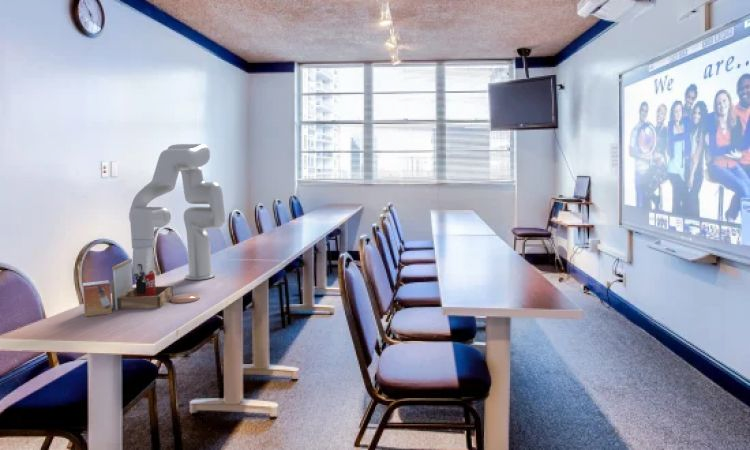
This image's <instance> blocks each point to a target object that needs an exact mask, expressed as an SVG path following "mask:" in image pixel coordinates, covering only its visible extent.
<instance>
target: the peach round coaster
mask: <svg viewBox="0 0 750 450" xmlns="http://www.w3.org/2000/svg"><path fill="white" fill-rule="evenodd" d="M200 297H201V296H200V294H198V293H181V294H177V295H173V297H171V299H170V302H171V303H173V304H188V303H189V304H190V303H194V302H196V301H199V300H200Z"/></svg>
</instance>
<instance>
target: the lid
mask: <svg viewBox="0 0 750 450" xmlns="http://www.w3.org/2000/svg"><path fill="white" fill-rule="evenodd" d="M132 263H133V258H128V259H126V260H124V261H122V262H120V263H118V264H116V265H114V266H112V267H111V271H112V275H113V278H112V280H111V281H110V291H111V307H112V310H119V309H118V297H120V296H121V295H123V294H124V293H126V292H127V291H129V290H131V289H132V288H134V287H133V286H134V285H133V266H132Z"/></svg>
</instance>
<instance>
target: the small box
mask: <svg viewBox="0 0 750 450" xmlns="http://www.w3.org/2000/svg"><path fill="white" fill-rule="evenodd" d="M82 298H83V312H84V317H92V316H99V315H101V316H102V315H109V314H113V312H112V311H113V306H112V291H111V281H109V279H108V280H107V279H106V280H99V281H91V282H82Z"/></svg>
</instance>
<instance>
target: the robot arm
mask: <svg viewBox="0 0 750 450" xmlns="http://www.w3.org/2000/svg"><path fill="white" fill-rule="evenodd" d="M210 158H211V151H210V148H209V147H208V146H207V145H206V144H204V143H178V144H171V145H170V146H168V147H167V149H164V150H162V151H161V153H160V154H159V156H158V160H157V163H156V165H155V169H154V173H153V175H152V179H151V181H150V182H149V183H147V184H146V185H144V187H142V188H141V189H140V190H139V191H138V192H137V193H136V194H135V196H134V198H133V199H132V203H131V206H130V208H129V212H128V219H129V223H130V238H131V239H130V240H131V249H133V250H132V277H134V278H135V287H136V293H137V294H145V293H146V282H145V277H146V276H147V275H149V273H150V270H152V271H153V272H154V271H155V266H156V265H155V256H154V255H155V254H154V248H155V246H156V243H155V228H163V227H166V226H167V225H169V223H170V222H171V220H172V219H171V218H172V215H171V212H170V211H169V210H168V209H167V208H166V207H161V206H148V205H149V204H150V202H152V201H153V200H155V199H157V198H158V197H159V198H160V197H161V196H163V195H166V194H168V193H169V192H172V191H173V190H175V188H176V184H177V180H178V178H179V173H180V174H181V180H182V187H183V188H182V189H183V193H184V199H185V201H186V203H188V204H192V205H209V206H192V207H191V206H190V207H188V208H186V209H185V210H184V213H183V222H184V225H185V226H184V227H185V231H186V241H187V242H186V243H187V261H188V273H187V274H186V275H185V276H184V277H185V279H186V280H190V281H201V280H208V279H212V278H215V276H216V273H215V272H213V271H212V258H211V257H212V255H211V237H210V235H209V233H208V232H207V230H206V229H220V228H222V227H224V225H225V221H226V214H225V212H226V211H225V205H224V195H223V190H222V187H221V186H220V184H219V183H217V182H213V181H208V182H207V181H205V180H204V176H203V169H202V168H201V167H203V166H205V165H206V164H207V163H208V162H209V161H210ZM154 273H155V272H154ZM142 277H143V279H142Z"/></svg>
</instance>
